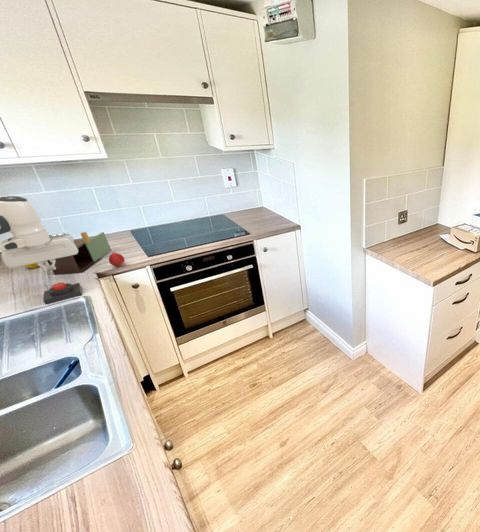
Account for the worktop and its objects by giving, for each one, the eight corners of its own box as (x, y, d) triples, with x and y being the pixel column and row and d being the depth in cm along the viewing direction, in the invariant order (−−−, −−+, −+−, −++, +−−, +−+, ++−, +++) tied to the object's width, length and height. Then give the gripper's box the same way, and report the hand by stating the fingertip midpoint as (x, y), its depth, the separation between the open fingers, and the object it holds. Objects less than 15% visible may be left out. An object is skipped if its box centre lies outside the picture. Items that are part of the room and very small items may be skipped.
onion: (112, 270, 155) (105, 255, 152) (111, 266, 159) (105, 251, 155) (127, 266, 159) (121, 252, 155) (126, 262, 162) (120, 248, 159)
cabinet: (82, 272, 152) (72, 251, 147) (54, 274, 150) (43, 253, 145) (102, 258, 166) (93, 238, 161) (76, 260, 164) (66, 240, 159)
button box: (45, 305, 129) (40, 296, 127) (46, 295, 135) (41, 287, 133) (82, 295, 135) (78, 287, 134) (81, 287, 141) (77, 279, 139)
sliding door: (96, 261, 161) (83, 233, 154) (93, 262, 161) (79, 233, 154) (113, 249, 174) (101, 222, 167) (110, 249, 174) (98, 223, 167)
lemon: (31, 267, 156) (22, 252, 152) (46, 265, 158) (38, 250, 154) (25, 272, 152) (16, 257, 148) (40, 270, 153) (32, 255, 150)
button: (53, 291, 131) (51, 288, 130) (53, 288, 133) (51, 284, 133) (66, 288, 133) (65, 284, 132) (66, 284, 136) (65, 281, 135)
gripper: (70, 229, 131) (85, 259, 138) (-5, 242, 119) (15, 275, 126) (70, 234, 127) (85, 264, 134) (-7, 248, 115) (14, 281, 121)
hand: (51, 269), depth 130 cm, fingers closed
